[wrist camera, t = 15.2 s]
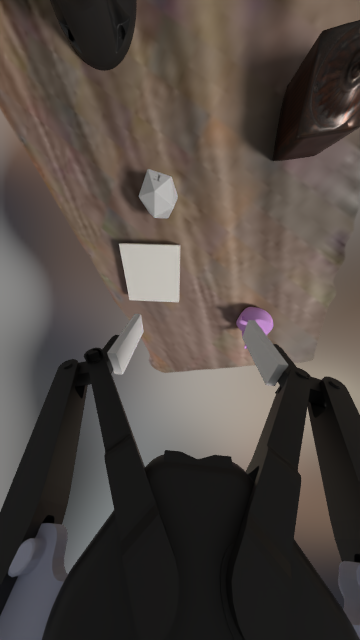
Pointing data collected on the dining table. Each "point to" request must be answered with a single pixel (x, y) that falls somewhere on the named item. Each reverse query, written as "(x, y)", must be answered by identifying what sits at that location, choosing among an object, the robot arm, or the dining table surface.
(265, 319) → the teapot
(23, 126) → the dining table surface
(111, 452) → the robot arm
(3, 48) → the dining table surface
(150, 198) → the die
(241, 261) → the dining table surface
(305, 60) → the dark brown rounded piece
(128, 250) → the plinth
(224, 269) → the dining table surface
